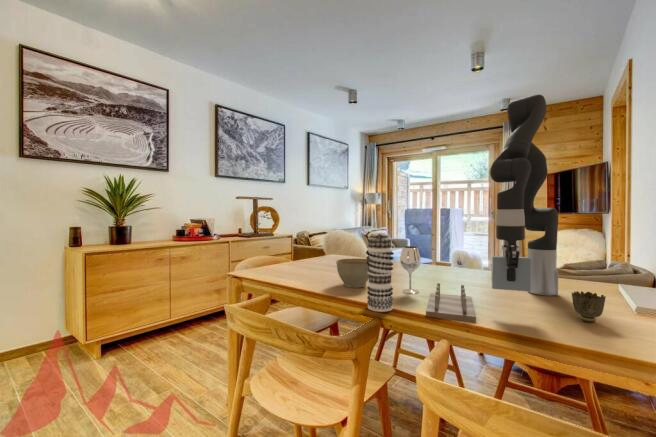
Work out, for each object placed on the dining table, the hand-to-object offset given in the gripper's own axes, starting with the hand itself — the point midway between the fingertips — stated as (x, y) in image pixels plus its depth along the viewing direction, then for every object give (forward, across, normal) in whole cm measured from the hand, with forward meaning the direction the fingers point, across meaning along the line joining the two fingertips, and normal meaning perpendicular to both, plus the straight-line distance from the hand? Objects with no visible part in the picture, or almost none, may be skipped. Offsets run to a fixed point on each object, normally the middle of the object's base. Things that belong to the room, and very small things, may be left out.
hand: (510, 279), depth 93 cm
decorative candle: (+11, -7, +39) cm, 41 cm away
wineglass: (+11, +17, +32) cm, 38 cm away
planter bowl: (+11, +19, +56) cm, 60 cm away
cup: (+11, +2, -20) cm, 23 cm away
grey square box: (+3, 0, 0) cm, 3 cm away
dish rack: (+11, +1, +17) cm, 20 cm away
